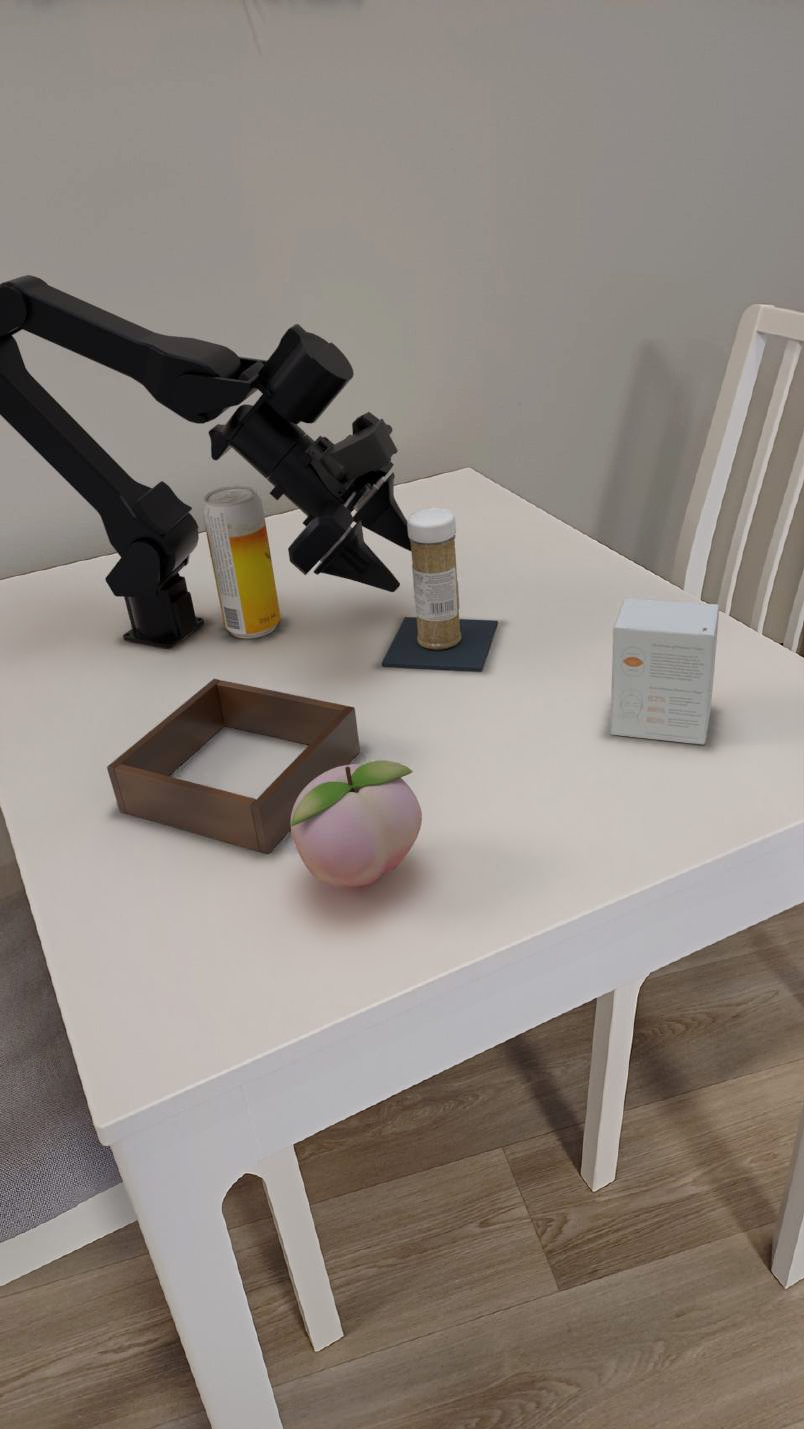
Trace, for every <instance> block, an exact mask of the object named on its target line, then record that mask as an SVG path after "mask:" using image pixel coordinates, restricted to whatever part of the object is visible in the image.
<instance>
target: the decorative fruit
mask: <svg viewBox="0 0 804 1429" xmlns="http://www.w3.org/2000/svg"><path fill="white" fill-rule="evenodd" d="M413 772H414V771H413V770H412V769H411V768H410V767H408V766H406V765H404V764H402V763H399V762H395V761H390V760H374V761H371V762H366V763H364V764H359V763H352V764H348V765H344V766H339V767H336V768H333V769H331V770H329V771H326V772H324V773H323V774H321V775H319V776H318V777H316V778H315V779H314V780H313V781H311V782H310V783H309V784H308V785H307V786H306V787H305V788H304V789H303V790H302V792H301V793H300V795H299V796H298V798H297V800H296V802H295V804H294V806H293V810H292V813H291V829H290V832H291V837H292V840H293V843H294V845H295V848H296V851H297V852H298V855H299V857H300V860H302V862H303V864H304V866H305V867H306V869H307V870H308V871H309V872H310V874H311V875H312V876H314V877H315V878H316V879H318V880H319V881H320V882H323V883H325V884H327V885H330V886H334V887H338V888H339V887H340V888H361V887H365V886H368V885H371V884H373V883H374V882H375V881H377V880H378V879H379V878H380V877H381V876H383V875H385V874H388V873H390V872H392V871H393V870H394V869H395V868H396V867H398V866H399V865H400V864H401V862H403V860H404V859H405V858H406V856H407V855H408V854H409V852H410V850H411V849H412V848H413V846H414V844H415V842H416V840H417V839H418V836H419V834H420V831H421V827H422V821H423V813H422V807H421V805H420V802H419V800H418V797H417V796H416V794H415V792H414V791H413V789H412V788H411V786H410V785H408V783H407V782H406V781H405V780H404V779H403V778H404V777H406V776H409V775H410V774H413Z"/></svg>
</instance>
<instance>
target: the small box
mask: <svg viewBox="0 0 804 1429" xmlns="http://www.w3.org/2000/svg"><path fill="white" fill-rule="evenodd" d="M719 618H720V604H717V603H701V602H700V603H699V602H688V601H687V602H686V601H685V602H684V601H671V600H655V599H639V598H629V597H628V598H627V597H626V598H624V599H623V600H622V602H621V606H620V609H619V612H618V614H617V616H616V619H615V622H614V625H613V628H612V655H611V656H612V657H611V658H612V659H611V660H612V662H611V689H610V690H611V692H610V693H611V694H610V728H609V732H610V734H611V735H614V736H622V737H631V738H638V739H639V738H640V739H647V740H648V739H649V740H658V741H667V742H668V741H669V742H677V743H685V744H693V745H705V744H706V742H707V736H708V730H709V724H710V716H711V708H712V700H713V691H714V690H713V689H714V677H715V669H716V668H715V667H716V656H717V644H718V633H719V631H718V630H719Z"/></svg>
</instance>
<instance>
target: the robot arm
mask: <svg viewBox="0 0 804 1429" xmlns="http://www.w3.org/2000/svg"><path fill="white" fill-rule="evenodd" d="M21 331H25V332H27V333H30V334H32V335H35V336H36V337H39V338H41V339H44V340H46V341H48V342H50V343H52V344H55V345H57V346H59V347H61V348H64V349H65V350H68V351H70V352H73V353H75V354H77V355H79V356H81V357H84V358H86V359H88V360H90V361H92V362H94V363H97V364H99V365H102V366H105V367H106V368H108V369H111V370H113V371H115V372H118V373H120V374H122V375H124V376H127V377H128V378H131V379H132V380H134V381H136V382H137V383H139V385H141V386H143V387H144V388H145V390H146V391H147V392H148V393H149V394H150V395H151V397H153V399H154V400H155V401H156V402H158V403H159V404H160V405H162V406H163V407H165V408H167V409H168V410H169V411H171V412H173V414H176V415H177V416H179V417H180V418H182V419H183V420H185V421H187V422H189V423H193V424H197V425H198V424H200V425H201V424H202V425H203V424H206V423H209V422H211V421H214V420H216V419H217V418H218V417H220V416H221V415H222V414H224V413H225V412H226V411H228V410H229V409H230V408H231V407H236V406H238V407H237V408H236V410H235V411H234V412H233V414H232V415H231V416H230V418H229V419H228V420H227V422H226V423H224V424H220V423H217V424H216V425H214V426H213V427H212V428H210V429H209V431H208V436H209V438H210V455H211V456H210V457H211V459H212V460H213V461H218V460H220V459H221V458H222V457H223V456H224V455H225V454H227V453H228V452H229V451H230V450H231V449H232V450H234V451H235V452H236V453H237V454H238V455H239V456H240V457H241V458H243V460H245V461H246V462H247V463H248V464H249V465H250V466H252V467H253V468H254V470H256V471H257V472H258V473H259V474H260V475H261V476H262V477H264V478H265V479H266V480H267V481H268V482H269V483H270V484H272V486H273V489H272V490H270V491H269V495H270V496H271V497H273V499H275V500H276V501H277V502H278V501H279V500H280V499H281V498H282V496H284V497H286V499H287V500H288V501H290V502H291V503H292V504H293V505H294V507H295V506H296V507H297V509H299V510H300V512H302V513H303V514H304V515H305V516H306V518H305V519H304V520H303V522H302V525H304V526H305V527H304V529H303V530H302V531H301V532H300V533H298V536H296V538H295V539H294V541H293V542H292V543H291V544H290V545H289V546H288V548H287V552H288V560H289V562H290V564H292V565H293V566H294V567H295V568H296V569H297V570H299V571H300V572H301V573H302V574H303V575H304V576H307V575H308V574H309V573H310V571H312V569H313V568H314V567H315V566H316V565H317V566H316V567H315V568H314V570H313V572H312V573H314V574H315V575H317V576H319V575H320V574H325V575H329V576H334V577H337V578H343V579H346V580H350V581H353V582H358V583H360V584H363V585H366V586H370V587H373V588H375V589H376V588H377V589H379V590H382V591H387V592H390V593H394V592H396V591H397V590H398V589H399V588H400V586H401V583H400V581H399V580H398V579H397V577H396V576H395V574H393V573H392V571H391V570H390V569H389V568H388V567H387V566H386V565H385V563H384V562H383V561H382V560H381V559H380V558H379V557H378V555H377V554H376V553H375V552H374V551H373V550H372V549H371V548H370V547H369V545H368V544H367V543H366V542H365V538H364V531H363V528H365V529H367V530H369V531H370V532H373V533H374V534H376V535H378V536H380V537H381V538H384V539H385V540H387V541H389V542H391V543H393V544H395V545H396V546H397V547H400V548H402V549H405V550H406V551H408V552H411V542H410V538H409V536H408V527H407V518H406V516H405V515H404V513H403V511H402V509H401V507H400V506H399V504H398V502H397V501H396V498H395V495H394V492H395V491H394V489H395V488H394V486H395V485H394V482H395V478H396V474H395V472H394V471H392V473H391V474H390V475H389V476H388V477H387V478H386V479H385V480H384V479H383V478H385V477H386V476H387V475H388V474H389V472H390V471H391V470H392V468H393V467H394V466H395V464H394V463H393V462H392V457H393V456H394V455H396V454H397V453H398V452H399V451H398V448H397V446H396V444H395V442H394V441H393V439H392V437H391V434H392V433H393V427H392V426H391V425H390V424H387V423H386V421H385V420H384V418H378V417H377V416H376V415H374V414H373V413H372V412H370V411H367V412H365V413H363V414H361V415H359V416H357V417H356V418H355V420H353V422H352V424H351V428H352V429H351V430H352V434H349V435H347V436H346V437H345V438H343V439H342V440H340V441H338V442H336V443H334V442H332V441H331V440H330V439H329V438H328V437H326V436H322V435H319V436H318V437H317V438H316V439H315V440H314V439H313V438H312V437H311V436H310V435H309V434H308V433H307V432H306V431H304V430H303V428H301V427H300V426H299V424H301V423H305V424H315V423H316V422H317V421H318V420H319V418H320V417H321V416H322V415H323V414H324V413H325V411H326V410H327V409H328V408H329V407H330V405H331V404H332V403H333V402H334V401H335V399H336V398H337V397H338V396H339V394H340V393H341V392H342V391H343V390H344V389H345V388H346V387H347V385H348V384H349V383H350V381H351V380H352V379H353V377H354V375H355V373H354V369H353V366H352V364H351V362H350V361H349V360H348V358H347V356H346V355H345V354H344V353H343V352H342V351H341V350H340V348H339V347H338V346H336V344H334V343H333V342H329V341H327V340H326V339H324V338H323V337H322V336H320V335H317V334H315V333H314V332H313V333H312V332H310V331H307V330H305V329H304V328H303V327H302V326H301V325H300V324H299V323H295V324H294V325H292V326H290V327H289V328H288V329H287V330H286V331H285V332H284V334H283V335H282V337H281V338H280V340H279V343H278V345H277V347H276V349H275V350H274V351H273V352H272V354H271V355H270V356H269V358H267V360H266V359H259V358H251V357H245V356H243V357H242V356H239V355H238V354H237V353H236V352H235V351H233V350H232V348H229V347H228V346H225V345H223V344H219V343H216V342H215V343H214V342H210V341H207V340H202V339H199V338H194V337H185V336H184V337H183V336H175V335H166V334H162V333H159V332H155V331H152V330H150V329H148V328H146V327H143V326H141V325H139V324H137V323H135V322H132V321H130V320H127V319H125V318H123V317H121V316H119V315H116V314H115V313H112V312H110V311H107V310H106V309H103V308H101V307H99V306H96V305H94V304H92V303H90V302H87V301H85V300H83V299H81V298H79V297H76V296H74V295H71V294H69V293H67V292H65V291H63V290H61V289H59V288H56V287H54V286H52V285H50V284H48V283H47V281H46V280H45V281H44V280H43V279H42V278H40V277H37V276H35V275H30V274H27V275H26V274H25V275H22V276H19V277H16V278H13V279H12V278H11V279H10V280H7V281H3V282H1V283H0V417H2V419H3V420H5V422H7V423H8V424H9V425H10V427H12V429H14V430H15V431H16V432H17V434H19V435H20V436H21V437H22V438H23V439H24V440H25V441H26V442H27V444H29V446H31V447H32V448H33V450H34V451H36V452H37V453H38V454H39V455H40V456H41V457H42V459H44V461H46V463H48V464H49V465H50V466H51V467H52V468H53V469H54V470H55V471H56V472H57V473H58V474H59V475H60V476H61V477H62V478H63V479H64V481H66V482H67V483H68V484H69V485H70V486H71V488H73V489H74V490H75V491H76V492H77V493H78V495H80V496H81V497H82V498H83V499H84V500H85V501H86V502H87V503H88V504H89V505H90V506H91V507H92V508H93V509H94V510H95V511H96V512H97V513H98V515H99V516H100V518H101V522H102V524H103V527H104V530H105V532H106V536H107V539H108V542H109V543H110V545H111V547H112V548H113V549H114V551H115V552H116V554H118V555H119V557H120V559H119V560H118V561H117V562H116V564H115V565H114V566H113V567H112V569H111V570H110V572H108V574H107V575H106V576H105V579H104V581H105V582H106V584H107V586H108V587H109V589H110V591H111V592H112V594H113V595H114V597H117V598H118V597H119V598H120V597H121V598H122V597H123V598H124V602H125V606H126V610H127V615H128V619H129V622H130V626H131V629H129V630H128V631H127V632H124V634H122V639H123V640H124V641H128V642H132V643H138V644H142V645H148V646H152V647H158V648H162V649H163V648H164V649H171V648H173V647H174V646H175V645H177V644H178V643H180V642H181V641H182V640H185V638H186V637H187V636H189V635H191V634H192V633H193V632H194V631H196V630H197V629H199V628H200V627H201V626H202V625H204V624H205V618H203V617H200V616H196V613H195V607H194V602H193V599H192V593H191V592H190V591H189V590H188V585H187V581H186V577H185V576H182V575H180V573H179V572H181V570H182V569H183V568H184V567H186V566H188V564H189V562H190V557H191V556H190V555H191V554H192V553H193V552H194V551H195V549H196V548H197V546H198V543H199V539H200V537H199V536H200V535H199V528H200V527H199V525H198V522H197V520H196V519H195V517H194V516H193V515H192V514H191V513H190V512H191V511H192V510H193V508H192V507H193V506H190V505H188V504H187V503H185V502H184V501H182V499H180V498H179V497H178V496H177V495H176V493H175V492H174V490H173V489H172V488H171V487H170V485H169V484H168V483H166V482H164V481H163V480H161V481H159V482H158V483H157V484H156V485H154V486H153V487H150V486H148V485H145V484H143V483H141V482H138V481H136V480H135V479H134V478H132V476H131V475H129V473H128V472H127V471H126V470H125V469H124V468H123V467H121V465H120V464H119V463H118V462H116V460H115V459H114V458H113V457H112V456H111V455H110V454H109V453H108V452H107V451H106V450H105V449H104V448H103V447H102V446H101V445H100V444H99V442H97V441H96V440H95V439H94V438H93V437H92V435H90V434H89V433H88V431H87V430H86V429H84V428H83V427H82V426H81V425H80V424H79V423H78V421H77V420H76V419H75V418H74V416H72V415H71V414H70V413H69V412H68V410H66V409H65V408H64V407H63V406H62V405H61V404H60V403H59V401H57V400H56V399H55V398H54V396H52V395H51V394H50V393H49V392H48V391H47V389H45V387H44V386H42V385H41V384H40V382H38V381H37V380H36V378H34V376H33V375H32V374H31V373H30V372H29V371H28V369H27V367H26V365H25V362H24V358H23V356H22V353H21V350H20V347H19V345H18V341H17V340H16V338H15V337H14V336H13V335H15V334H18V333H20V332H21ZM257 391H259V392H260V393H261V395H260V396H259V398H258V399H257V400H256V402H254V404H253V405H252V404H247V403H246V404H243V402H245V400H247V399H248V398H249V397H251V396H253V394H255V393H256V392H257ZM353 511H355V513H354V514H352V513H353ZM353 523H355V524H354V525H353V526H352V524H353Z"/></svg>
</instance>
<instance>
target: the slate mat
mask: <svg viewBox="0 0 804 1429" xmlns="http://www.w3.org/2000/svg"><path fill="white" fill-rule="evenodd" d="M498 622H499V620H494V619H493V620H492V619H470V618H469V619H466V618H459V623H460V632H461V640H460V642H459V643H458V644H457V645H455V646H453V647H450V648H447V649H443V650H433V649H428V648H425V647H423V646H421V645H420V644H419V643H418V640H417V637H418V627H417V616H414V617H413V616H404V618H403V619H402V622H401V624H400V625H399V627H398V629H397V631H396V634H395V636H394V638H393V640H392V642H391V643H390V646H389V648H388V650H387V652H386V654H385V656H384V657H383V660H382V662H381V667H384V668H385V667H387V668H402V669H403V668H405V669H406V668H408V669H424V670H425V669H427V670H442V671H443V670H445V671H462V672H463V671H464V672H479V673H480V672H483V669H484V666H485V664H486V660H487V657H488V654H489V651H490V648H491V645H492V642H493V640H494V637H495V633H496V630H497V627H498V624H499V623H498Z"/></svg>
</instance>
